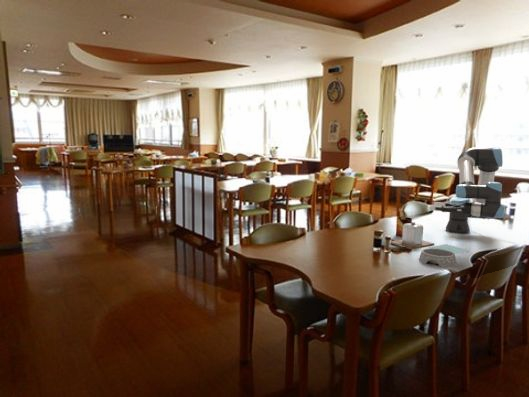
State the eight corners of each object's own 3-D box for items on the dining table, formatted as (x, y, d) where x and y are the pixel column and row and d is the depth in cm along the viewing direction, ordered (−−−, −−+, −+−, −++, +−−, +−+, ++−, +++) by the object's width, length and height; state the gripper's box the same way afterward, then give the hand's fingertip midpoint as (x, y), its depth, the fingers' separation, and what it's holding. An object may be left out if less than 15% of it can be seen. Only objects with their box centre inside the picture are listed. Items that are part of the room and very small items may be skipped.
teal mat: (445, 244, 234) (446, 244, 234) (470, 251, 220) (470, 250, 220) (427, 248, 227) (427, 247, 227) (451, 255, 213) (451, 254, 213)
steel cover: (405, 239, 242) (406, 219, 240) (423, 241, 236) (424, 221, 234) (400, 243, 233) (401, 222, 231) (419, 245, 227) (421, 224, 225)
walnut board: (413, 240, 246) (413, 237, 246) (434, 245, 232) (434, 243, 232) (390, 243, 237) (390, 241, 237) (410, 250, 223) (410, 247, 223)
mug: (410, 239, 248) (411, 221, 246) (392, 235, 259) (393, 217, 257) (419, 237, 253) (420, 219, 251) (402, 233, 264) (402, 216, 263)
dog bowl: (424, 255, 214) (425, 245, 214) (460, 261, 203) (461, 251, 202) (414, 262, 201) (415, 252, 201) (452, 269, 190) (452, 259, 189)
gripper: (469, 219, 204) (427, 215, 216) (473, 212, 225) (434, 208, 237) (470, 205, 203) (427, 202, 215) (474, 199, 224) (435, 196, 235)
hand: (431, 205), depth 226 cm, fingers open, 13 cm apart
